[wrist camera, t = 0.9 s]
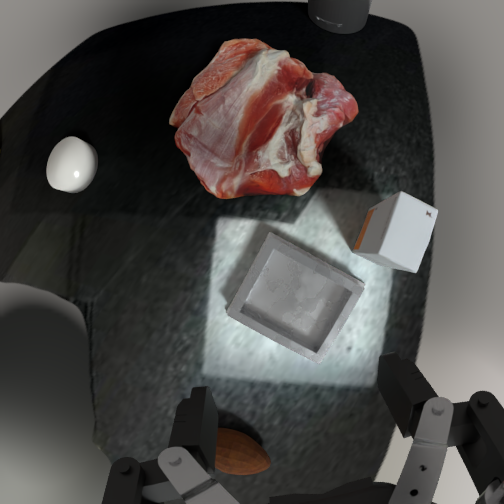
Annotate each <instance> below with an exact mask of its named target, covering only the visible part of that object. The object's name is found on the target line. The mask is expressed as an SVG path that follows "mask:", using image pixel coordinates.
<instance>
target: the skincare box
mask: <svg viewBox="0 0 504 504" xmlns="http://www.w3.org/2000/svg"><path fill="white" fill-rule="evenodd" d="M437 214H438V210H437V209H436V208H434V207H432V206H430V205H428V204H426V203H424V202H422V201H420V200H418V199H416V198H414V197H412V196H410V195H408V194H406V193H404V192H402V191H400V192H398V193H396V194H394V195H393V196H391V197H389V198H387V199H385V200H383V201H382V202H380V203H378V204H376V205H375V206H373V207H371V208H369V210H368V213H367V216H366V219H365V221H364V224H363V227H362V229H361V232H360V234H359V236H358V239H357V241H356V244H355V246H354V248H353V250H352V253H354V254H356V255H359V256H361V257H363V258H365V259H367V260H369V261H371V262H373V263H375V264H377V265H380V266H384V267H389V268H395V269H400V270H405V271H410V272H414V273H416V272H417V271H418V268H419V265H420V263H421V260H422V258H423V255H424V252H425V250H426V248H427V246H428V243H429V241H430V237H431V233H432V230H433V227H434V224H435V221H436V217H437Z"/></svg>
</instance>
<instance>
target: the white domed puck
mask: <svg viewBox="0 0 504 504" xmlns="http://www.w3.org/2000/svg"><path fill="white" fill-rule="evenodd" d="M97 167H98V156H97V152H96V150H95V148H94V147H93V146H92V145H90V144H88V143H86V142H84V141H83V140H81V139H79V138H76V137H67V138H65V139H63V140H62V141H60V142H59V143H58V144H57V145H56V146H55V148H54V149H53V151H52V153H51V155H50V157H49V160H48V163H47V178H48V181H49V183H50V185H51V186H52V187H53V188H55V189H59V190H62V191H66V192H70V193H78V192H80V191H82V190H84V189H85V188H86V187H87V186H88V185H89V184H90V183H91V181H92V180H93V178H94V176H95V174H96V171H97Z"/></svg>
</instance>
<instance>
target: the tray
mask: <svg viewBox="0 0 504 504" xmlns="http://www.w3.org/2000/svg"><path fill="white" fill-rule="evenodd" d="M364 286H365V284H364V283H362V282H361V281H359V280H357V279H355V278H354V277H352V276H350V275H348V274H346V273H345V272H343V271H341V270H339V269H337V268H336V267H334V266H332V265H330V264H328V263H327V262H325V261H323V260H321V259H319V258H317V257H316V256H314V255H312V254H310V253H308V252H306V251H305V250H303V249H301V248H299V247H297V246H295V245H294V244H292V243H290V242H288V241H286V240H284V239H282V238H281V237H279V236H277V235H275V234H273V233H271V232H269V233H268V235H267V237H266V239H265V241H264V243H263V245H262V247H261V248H260V250H259V252H258V254H257V256H256V258H255V260H254V261H253V263H252V265H251V267H250V269H249V271H248V273H247V274H246V276H245V278H244V280H243V282H242V284H241V286H240V287H239V289H238V291H237V293H236V295H235V297H234V298H233V300H232V302H231V304H230V306H229V308H228V310H227V311H226V313H227V314H228V316H230V317H231V318H233V319H235V320H237V321H239V322H240V323H242V324H244V325H246V326H248V327H249V328H251V329H253V330H255V331H257V332H258V333H260V334H262V335H264V336H266V337H268V338H270V339H271V340H273V341H275V342H277V343H279V344H281V345H283V346H285V347H287V348H288V349H290V350H292V351H294V352H296V353H298V354H300V355H302V356H304V357H306V358H308V359H310V360H312V361H314V362H316V363H318V364H320V363H321V362H322V360H323V358H324V357H325V355H326V354H327V352H328V350H329V349H330V347H331V346H332V344H333V342H334V341H335V339H336V337H337V336H338V334H339V332H340V331H341V329H342V327H343V326H344V324H345V322H346V321H347V319H348V317H349V315H350V314H351V312H352V310H353V308H354V307H355V305H356V303H357V301H358V299H359V298H360V296H361V294H362V292H363V290H364Z"/></svg>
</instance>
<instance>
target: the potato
mask: <svg viewBox="0 0 504 504" xmlns="http://www.w3.org/2000/svg"><path fill="white" fill-rule="evenodd" d="M270 463H271V461H270V458H269V456H268V454H267V453H266V451H265V450H264V449H263V448H262V447H261V446H260V445H259V444H258V443H257V442H256V441H254V440H253V439H252V438H251V437H249V436H248V435H246V434H245V433H242V432H239V431H236V430H232V429H227V428H218V431H217V444H216V458H215V467H216V468H217V469H219V470H221V471H222V472H225V473H229V474H237V475H249V474H254V473H258V472H261V471H264V470H266V469H267V468H268V467H269V466H270Z"/></svg>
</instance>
